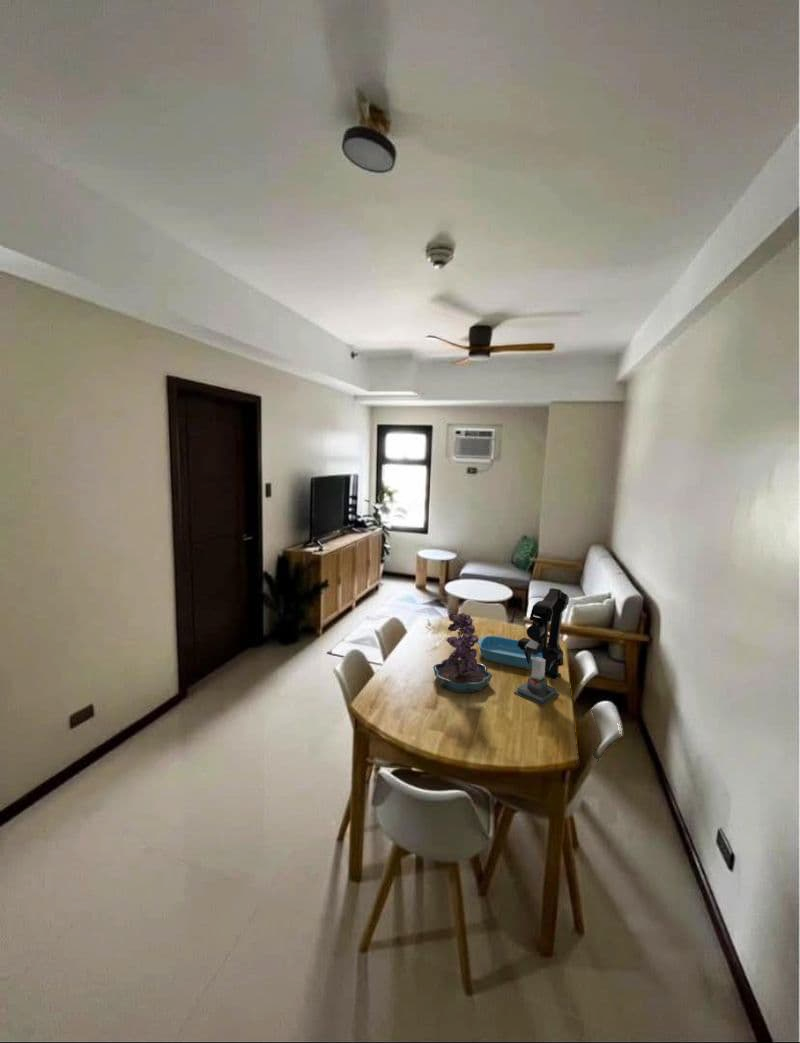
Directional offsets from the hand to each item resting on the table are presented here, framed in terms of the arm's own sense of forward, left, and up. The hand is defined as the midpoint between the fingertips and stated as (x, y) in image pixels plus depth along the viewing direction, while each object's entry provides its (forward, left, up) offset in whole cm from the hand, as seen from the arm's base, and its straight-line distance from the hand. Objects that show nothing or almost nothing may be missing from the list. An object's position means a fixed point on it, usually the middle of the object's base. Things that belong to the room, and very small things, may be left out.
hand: (538, 667), depth 188 cm
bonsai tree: (+19, -27, -12) cm, 35 cm away
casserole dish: (-23, -26, -13) cm, 37 cm away
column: (0, 0, -8) cm, 8 cm away
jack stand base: (0, 0, -12) cm, 12 cm away
